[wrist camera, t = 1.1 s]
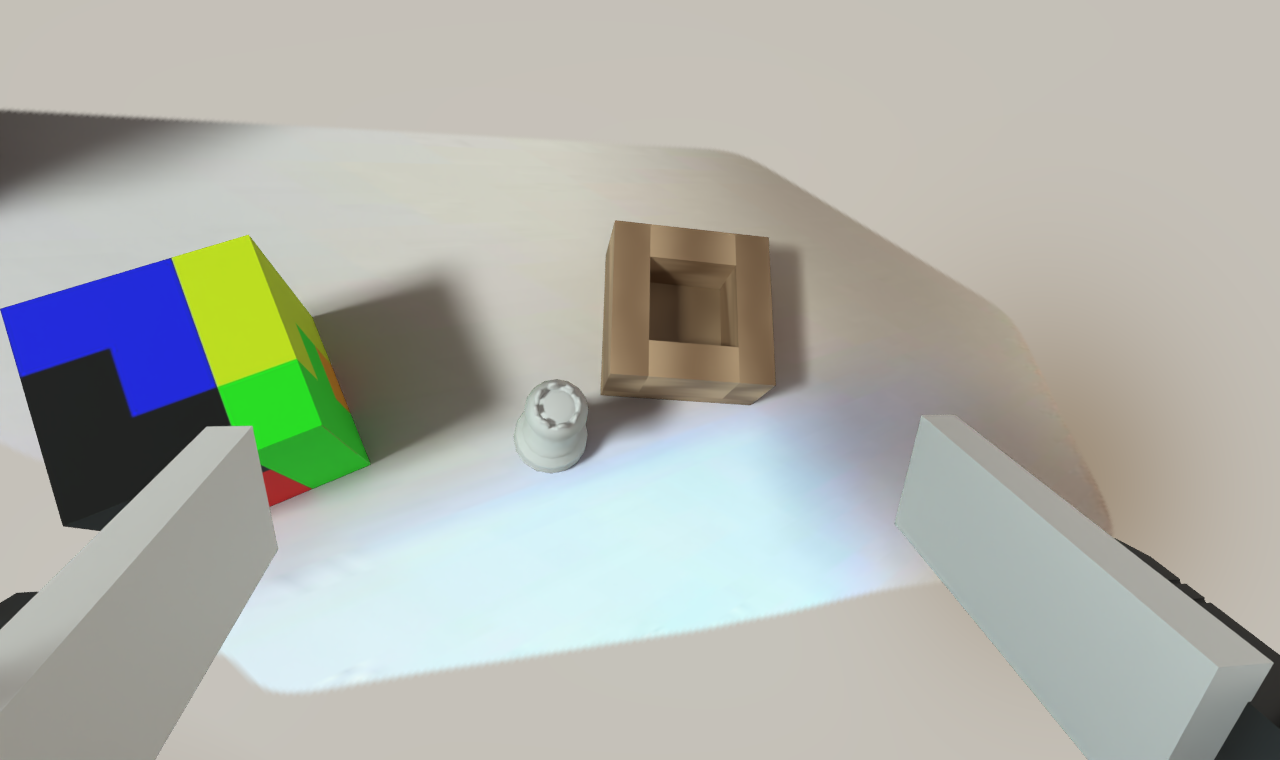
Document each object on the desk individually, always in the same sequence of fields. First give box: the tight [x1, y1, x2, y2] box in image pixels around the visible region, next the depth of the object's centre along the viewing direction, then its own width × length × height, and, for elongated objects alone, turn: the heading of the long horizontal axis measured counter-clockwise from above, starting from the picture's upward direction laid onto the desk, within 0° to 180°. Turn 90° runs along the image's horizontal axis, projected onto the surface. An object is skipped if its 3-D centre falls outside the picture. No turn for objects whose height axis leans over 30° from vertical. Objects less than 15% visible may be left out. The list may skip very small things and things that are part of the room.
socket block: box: [601, 220, 776, 405], centre depth 42 cm, size 10×10×4 cm
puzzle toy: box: [0, 235, 371, 531], centre depth 33 cm, size 10×10×10 cm
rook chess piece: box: [514, 379, 588, 473], centre depth 36 cm, size 4×4×8 cm
